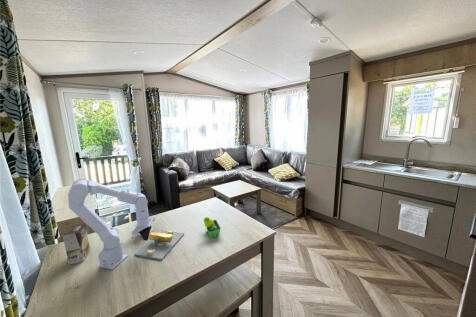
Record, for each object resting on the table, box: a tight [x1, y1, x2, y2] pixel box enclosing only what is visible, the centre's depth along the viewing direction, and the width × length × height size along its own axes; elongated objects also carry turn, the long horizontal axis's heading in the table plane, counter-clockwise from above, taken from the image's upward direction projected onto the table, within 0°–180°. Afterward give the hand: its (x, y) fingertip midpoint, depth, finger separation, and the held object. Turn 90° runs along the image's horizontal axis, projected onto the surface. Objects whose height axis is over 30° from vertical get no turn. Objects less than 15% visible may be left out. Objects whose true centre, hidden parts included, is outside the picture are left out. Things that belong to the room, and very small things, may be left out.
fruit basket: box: [203, 216, 222, 238], centre depth 115 cm, size 11×9×11 cm
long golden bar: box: [148, 231, 172, 245], centre depth 105 cm, size 7×13×4 cm, turn 76°
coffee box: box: [62, 223, 91, 265], centre depth 96 cm, size 9×6×16 cm
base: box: [134, 230, 185, 261], centre depth 106 cm, size 22×16×2 cm
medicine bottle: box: [135, 221, 155, 237], centre depth 117 cm, size 7×7×12 cm
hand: (145, 239), depth 102 cm, fingers closed
